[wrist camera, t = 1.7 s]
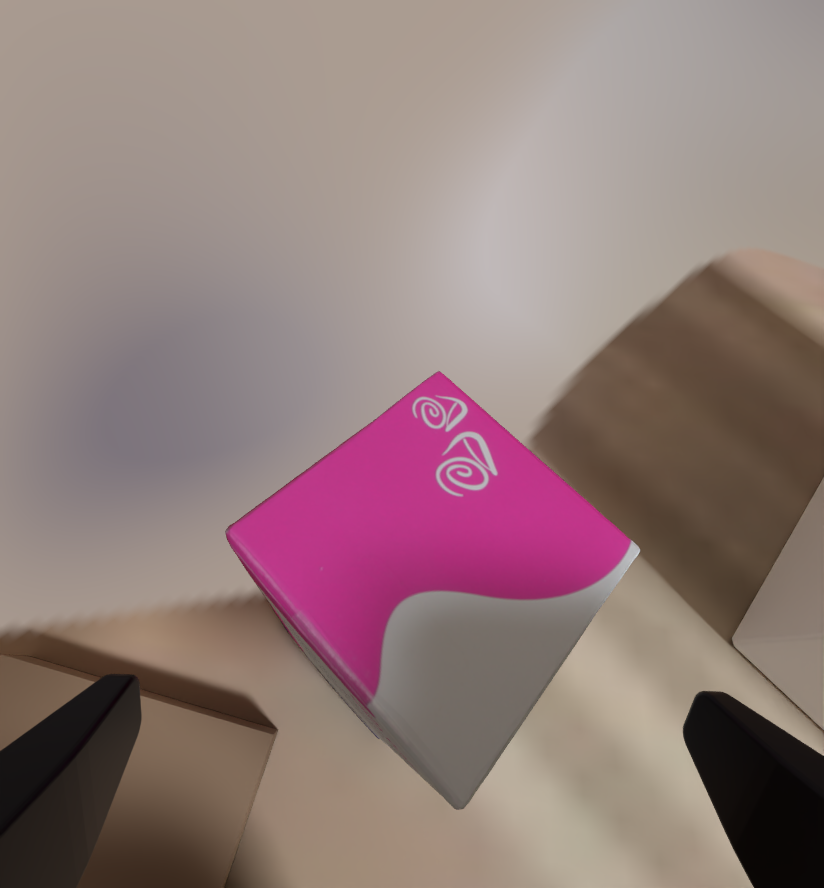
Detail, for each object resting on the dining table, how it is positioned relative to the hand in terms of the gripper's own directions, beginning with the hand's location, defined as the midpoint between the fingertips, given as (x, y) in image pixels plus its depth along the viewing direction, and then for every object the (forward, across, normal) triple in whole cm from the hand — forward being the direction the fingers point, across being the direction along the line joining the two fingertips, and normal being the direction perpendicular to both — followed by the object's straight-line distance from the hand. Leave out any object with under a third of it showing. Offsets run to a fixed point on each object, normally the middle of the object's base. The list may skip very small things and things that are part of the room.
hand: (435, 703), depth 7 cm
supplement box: (+10, 0, +6) cm, 12 cm away
